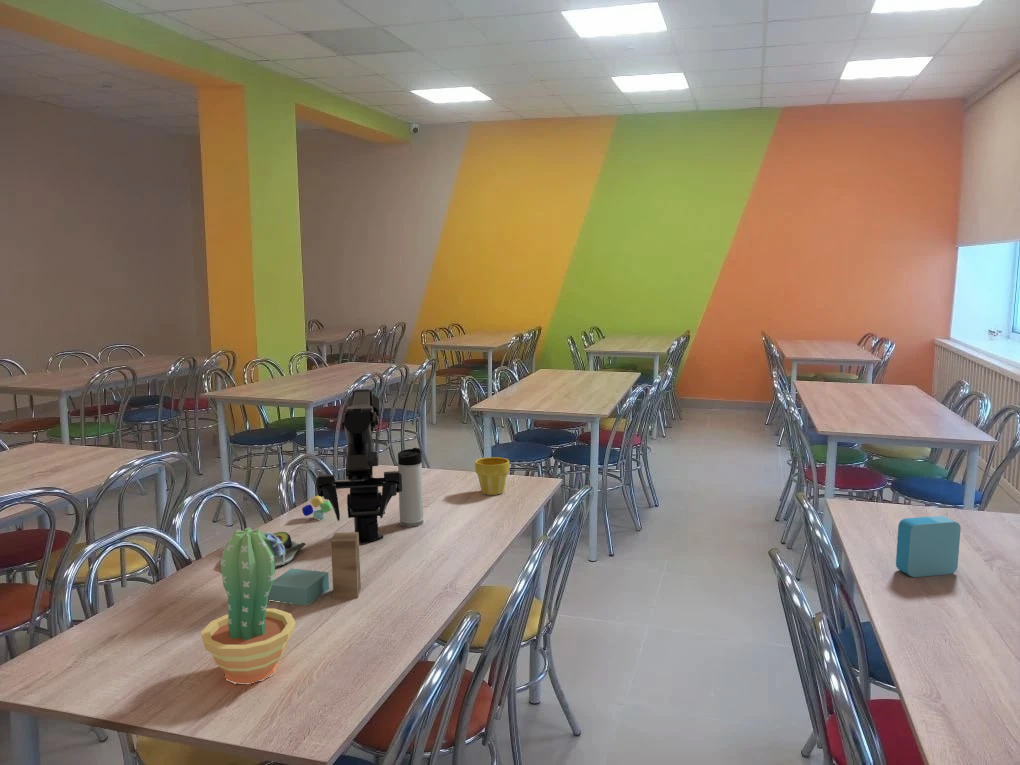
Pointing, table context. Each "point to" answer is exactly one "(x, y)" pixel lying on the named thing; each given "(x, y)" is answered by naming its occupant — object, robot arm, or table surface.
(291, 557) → the salad plate
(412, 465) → the travel mug
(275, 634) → the potted cactus
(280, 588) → the teal base block
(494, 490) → the plant pot
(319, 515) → the dice
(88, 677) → the table surface
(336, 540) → the walnut block
